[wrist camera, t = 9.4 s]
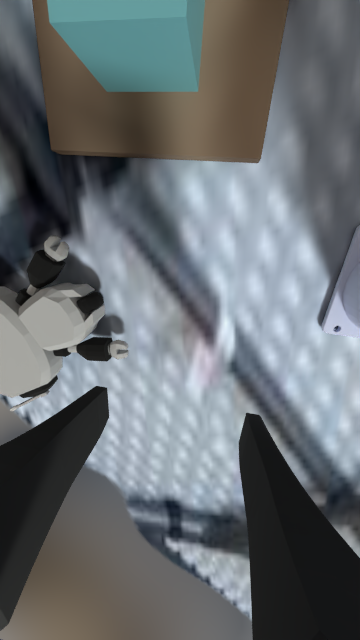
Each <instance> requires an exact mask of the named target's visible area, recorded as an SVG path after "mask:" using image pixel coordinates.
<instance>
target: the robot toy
mask: <svg viewBox="0 0 360 640" xmlns="http://www.w3.org/2000/svg"><path fill="white" fill-rule="evenodd" d="M60 240H61V238H59V237H58V236H50V237H49V238H48V239H47V240H46V241H45V243H44V247H45V250H39V251H37V252H36V253H35V255H34V257H33V259H32V261H31V263H30V265H29V267H28V268H27V272H28V277H29V281H30V285H29V287H28V289H23V290H21V291H20V292H19V294H17V293H16V292H14V291H12V290H10V289H8V288H6V287H0V394H3V395H5V396H8V397H11V398H12V397H15V396H18V395H19V396H21V397H22V398H26V397H33V398H31V399H29V400H27V401H25V402H23V403H21V404H19V405H16V406H14V407H13V408H12V409H11V410H10V411H14V410H16V409H18V408H19V407H21V406H23V405H25V404H27V403H29V402H31V401H33V400H35V399H37V398H39V397H43V396H45V395H47V394H48V393H49V392H50V391H49V389H50V388H51V387H52V386H53V385H54V383H55V382H56V381H57V379H58V378H57V374H58V372H59V371H60V370H61V368H62V367H63V364H62V356H64V357H66V356H68V355H70V354H71V352H74V353H79V354H80V355H81V356H82V357H84V358H85V359H87V360H90V361H108V360H109V359H111V357H114V358H116V359H122V358H126V357H127V356H128V353H129V351H128V350H127V348H128V344H127V343H126V342H125V341H121V340H116V341H112V338H105V337H93V338H91V339H88V340H86V341H84V342H82V343H80V342H81V341H82V340H83V339H85V338H86V337H87V336H88V335H89V334H90V333H92V331H93V330H94V329H95V328H96V327H97V324H98V321H99V320H100V319H101V318H102V317H103V316H104V315H105V307H104V305H103V303H104V301H103V297H102V296H101V295H100V294H99V293H98V292H93V293H91V294H89V295H86V294H88V293H90V292H92V291H94V290H95V289H94V288H92V287H91V286H90V285H88V284H76V285H75V284H72V283H69V282H68V283H59V284H56V285H53V286H50V287H47V288H44V289H41V288H42V287H44V286H46V285H48V284H50V283H52V282H53V281H54V280H56V278H57V277H58V275H59V273H60V272H61V270H62V268H63V267H64V265H65V262H64V261H63V259H65V258H67V255H68V251H69V246H68V244H67V243H66V242H61V243H60V245H59V247H57V246H58V244H59V242H60ZM40 289H41V290H40ZM102 305H103V306H102ZM100 306H101V307H100ZM99 307H100V308H99ZM97 308H99V309H97ZM95 309H97V310H95ZM79 343H80V344H79ZM120 349H125V350H120Z"/></svg>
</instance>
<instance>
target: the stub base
mask: <svg viewBox="0 0 360 640" xmlns="http://www.w3.org/2000/svg"><path fill="white" fill-rule="evenodd" d="M32 2H33V10H34V18H35V26H36V34H37V42H38V50H39V58H40V65H41V73H42V81H43V89H44V97H45V105H46V113H47V121H48V129H49V137H50V145H51V150H52V151H55V152H57V153H59V154H64V155H87V156H109V157H132V158H154V159H177V160H200V161H222V162H245V163H258V162H259V161H260V159H261V154H262V149H263V143H264V138H265V132H266V127H267V121H268V115H269V110H270V104H271V99H272V93H273V88H274V82H275V77H276V71H277V65H278V60H279V54H280V49H281V43H282V38H283V32H284V27H285V21H286V16H287V10H288V4H289V0H205V8H204V21H203V34H202V47H201V61H200V74H199V87H198V92H107V91H106V90H105V89H104V88H103V87H102V85H101V84H100V83H99V82H98V81H97V79H96V78H95V77H94V76H93V75H92V73H91V72H90V71H89V70H88V68H87V67H86V66H85V65H84V64H83V62H82V61H81V60H80V59H79V58H78V56H77V55H76V54H75V53H74V52H73V50H72V49H71V48H70V47H69V46H68V44H67V43H66V42H65V41H64V40H63V38H62V37H61V36H60V35H59V34H58V32H57V31H56V30H55V29H54V28H53V26H52V25H51V24H50V22H49V13H48V4H47V0H32Z"/></svg>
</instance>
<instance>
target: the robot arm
mask: <svg viewBox="0 0 360 640" xmlns="http://www.w3.org/2000/svg"><path fill="white" fill-rule="evenodd" d="M336 326H339V327H338V329H336V330H334V327H336ZM321 328H322V330H323V331H324V332H325V333H328V334H335V335H342V336H350V337H358V338H360V225H359V226H358V227H357V228H356V231H355V233H354V236H353V239H352V242H351V245H350V247H349V250H348V253H347V256H346V259H345V261H344V264H343V267H342V270H341V273H340V275H339V278H338V281H337V284H336V286H335V289H334V292H333V295H332V298H331V300H330V303H329V306H328V309H327V312H326V314H325V317H324V320H323V323H322V326H321ZM108 418H109V409H108V394H107V388H105V387H99V386H96V387H94V388H93V389H91V390H90V391H88V392H87V393H85V394H84V395H83V396H81V397H80V398H78V399H77V400H76V401H74V402H73V403H71V404H70V405H68V406H67V407H65V408H64V409H63V410H61V411H60V412H58V413H57V414H55V415H53V416H52V417H50V418H49V419H47V420H46V421H44V422H42V423H41V424H39V425H38V426H36V427H34V428H33V429H31V430H29V431H27V432H26V433H24V434H22V435H20V436H18V437H17V438H15V439H13V440H11V441H9V442H7V443H5V444H3V445H1V446H0V631H1V630H2V629H3V628H4V627H5V626H7V625H8V623H9V621H10V619H11V617H12V614H13V612H14V609H15V607H16V605H17V602H18V600H19V597H20V595H21V593H22V590H23V588H24V585H25V583H26V581H27V579H28V576H29V574H30V572H31V569H32V567H33V565H34V562H35V560H36V558H37V556H38V554H39V551H40V549H41V547H42V545H43V542H44V540H45V538H46V536H47V534H48V532H49V530H50V527H51V525H52V523H53V521H54V519H55V517H56V515H57V512H58V511H59V509H60V507H61V505H62V503H63V501H64V498H65V496H66V494H67V492H68V490H69V489H70V487H71V485H72V483H73V481H74V480H75V478H76V476H77V475H78V473H79V471H80V470H81V468H82V466H83V465H84V463H85V461H86V460H87V458H88V456H89V455H90V453H91V451H92V450H93V448H94V446H95V445H96V443H97V441H98V439H99V438H100V436H101V434H102V432H103V430H104V427H105V425H106V423H107V421H108ZM239 464H240V473H241V480H242V488H243V496H244V503H245V511H246V518H247V527H248V539H249V557H250V578H251V601H252V629H253V640H360V558H359V557H358V556H357V554H356V553H355V552H354V551H353V550H352V549H351V547H350V546H349V545H348V544H347V543H346V541H345V540H344V539H343V538H342V537H341V536H340V534H339V533H338V532H337V531H336V530H335V529H334V527H333V526H332V525H331V524H330V522H329V521H328V520H327V519H326V517H325V516H324V515H323V514H322V512H321V511H320V510H319V508H318V507H317V506H316V504H315V503H314V502H313V500H312V499H311V498H310V496H309V495H308V494H307V492H306V491H305V489H304V488H303V487H302V485H301V484H300V482H299V481H298V479H297V478H296V476H295V475H294V473H293V472H292V470H291V469H290V467H289V466H288V464H287V462H286V461H285V459H284V457H283V456H282V454H281V453H280V451H279V449H278V448H277V446H276V444H275V442H274V441H273V439H272V437H271V435H270V433H269V432H268V430H267V428H266V426H265V424H264V422H263V420H262V418H261V417H260V415H256V414H250V413H246V417H245V420H244V424H243V428H242V432H241V436H240V440H239ZM0 640H2V639H0Z"/></svg>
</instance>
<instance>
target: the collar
mask: <svg viewBox="0 0 360 640" xmlns="http://www.w3.org/2000/svg"><path fill="white" fill-rule="evenodd" d="M47 4H48V13H49V22H50V24H51V25H52V26H53V28H54V29H55V30H56V31H57V32H58V34H59V35H60V36H61V37H62V38H63V40H64V41H65V42H66V43H67V44H68V46H69V47H70V48H71V49H72V50H73V52H74V53H75V54H76V55H77V56H78V58H79V59H80V60H81V61H82V62H83V64H84V65H85V66H86V67H87V68H88V70H89V71H90V72H91V73H92V75H93V76H94V77H95V78H96V79H97V81H98V82H99V83H100V84H101V85H102V87H103V88H104V89H105V90H106V91H107V92H198V87H199V74H200V61H201V47H202V34H203V21H204V8H205V0H47Z"/></svg>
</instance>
